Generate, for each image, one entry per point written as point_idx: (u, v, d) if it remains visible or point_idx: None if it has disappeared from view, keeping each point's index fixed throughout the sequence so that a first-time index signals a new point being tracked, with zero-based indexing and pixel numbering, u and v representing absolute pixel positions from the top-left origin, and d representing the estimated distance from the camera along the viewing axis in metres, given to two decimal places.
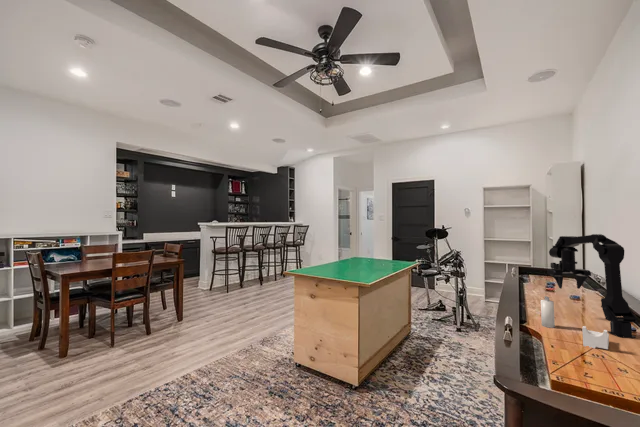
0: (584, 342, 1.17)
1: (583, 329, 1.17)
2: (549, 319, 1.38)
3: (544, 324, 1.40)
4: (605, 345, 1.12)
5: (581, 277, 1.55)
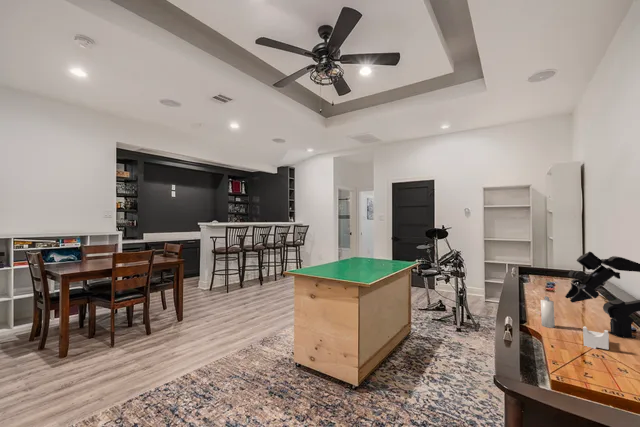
0: (585, 342, 1.16)
1: (584, 329, 1.16)
2: (549, 319, 1.38)
3: (544, 324, 1.40)
4: (606, 346, 1.12)
5: None
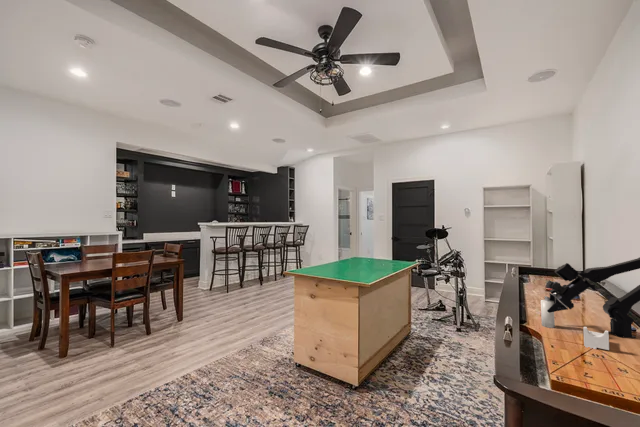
0: (585, 343, 1.16)
1: (584, 330, 1.16)
2: (549, 319, 1.38)
3: (544, 324, 1.40)
4: (607, 346, 1.11)
5: None
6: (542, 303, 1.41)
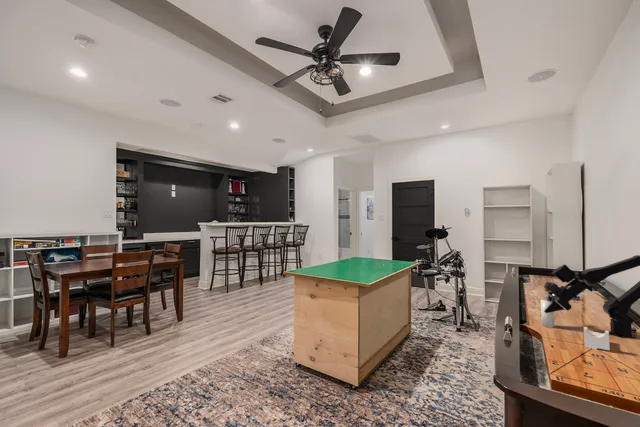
0: (586, 343, 1.15)
1: (584, 330, 1.16)
2: (549, 319, 1.38)
3: (544, 324, 1.40)
4: (607, 347, 1.11)
5: None
6: (542, 303, 1.41)
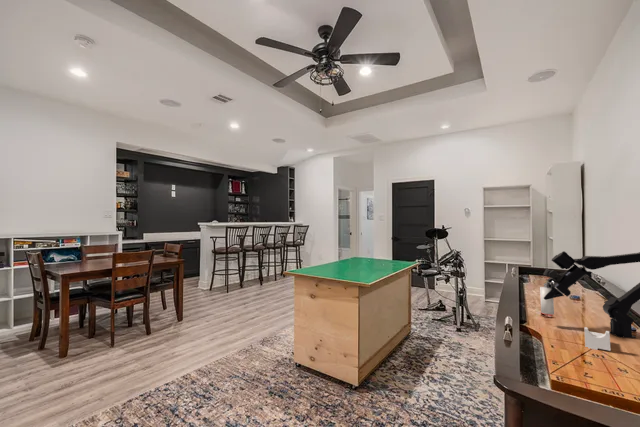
0: (586, 344, 1.15)
1: (585, 330, 1.15)
2: (549, 306, 1.39)
3: (543, 311, 1.40)
4: (608, 347, 1.11)
5: None
6: (541, 290, 1.41)
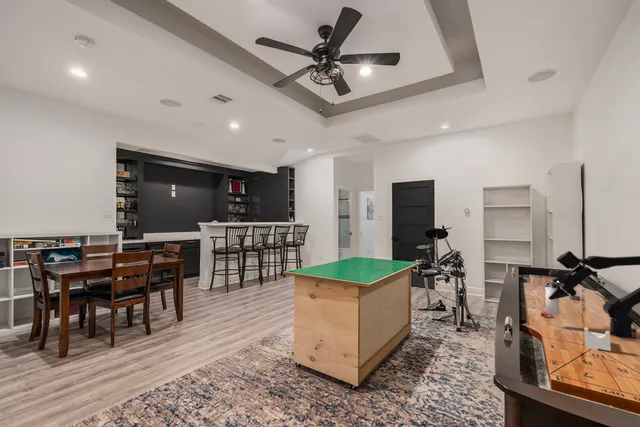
0: (586, 344, 1.15)
1: (585, 331, 1.15)
2: (554, 306, 1.38)
3: (549, 311, 1.39)
4: (608, 347, 1.11)
5: None
6: (546, 290, 1.40)
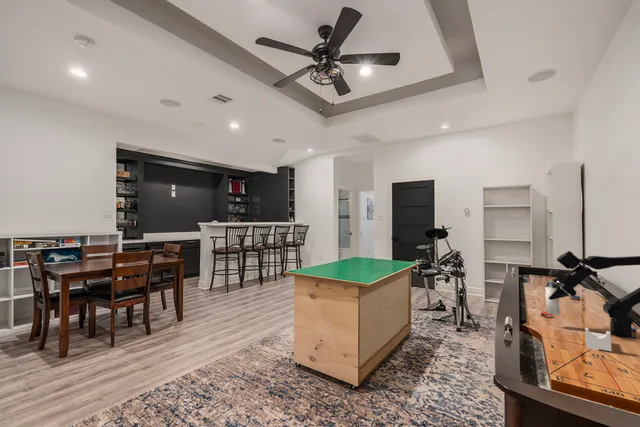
0: (587, 344, 1.14)
1: (586, 331, 1.15)
2: (554, 306, 1.38)
3: (549, 311, 1.39)
4: (609, 347, 1.10)
5: None
6: (546, 290, 1.40)
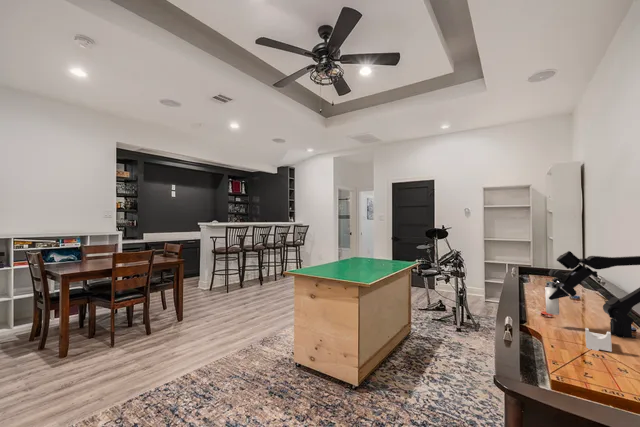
0: (587, 345, 1.14)
1: (586, 331, 1.14)
2: (554, 306, 1.38)
3: (549, 311, 1.39)
4: (609, 348, 1.10)
5: None
6: (546, 290, 1.40)
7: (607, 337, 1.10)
